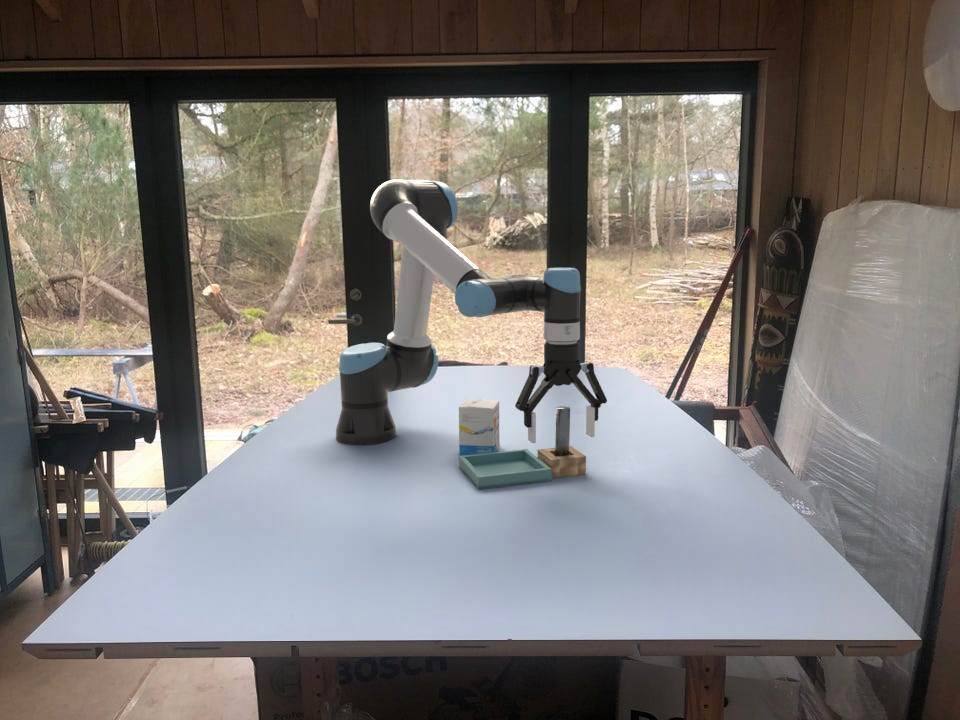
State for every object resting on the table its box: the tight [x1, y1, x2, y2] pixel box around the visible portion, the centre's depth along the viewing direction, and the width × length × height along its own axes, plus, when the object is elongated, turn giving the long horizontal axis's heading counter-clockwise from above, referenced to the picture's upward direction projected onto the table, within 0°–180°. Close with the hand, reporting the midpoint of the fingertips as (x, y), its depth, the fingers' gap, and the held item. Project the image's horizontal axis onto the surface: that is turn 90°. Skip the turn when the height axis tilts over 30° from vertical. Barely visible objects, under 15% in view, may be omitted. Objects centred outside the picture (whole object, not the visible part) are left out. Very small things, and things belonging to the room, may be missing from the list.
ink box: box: [458, 398, 501, 456], centre depth 180 cm, size 9×8×12 cm
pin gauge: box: [554, 406, 571, 457], centre depth 164 cm, size 3×3×14 cm
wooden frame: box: [537, 445, 587, 479], centre depth 165 cm, size 8×8×4 cm
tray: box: [458, 448, 553, 490], centre depth 164 cm, size 16×15×3 cm
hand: (561, 438), depth 164 cm, fingers open, 13 cm apart
